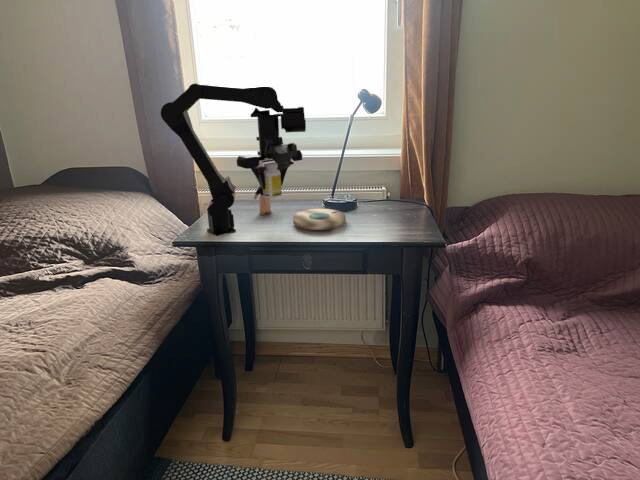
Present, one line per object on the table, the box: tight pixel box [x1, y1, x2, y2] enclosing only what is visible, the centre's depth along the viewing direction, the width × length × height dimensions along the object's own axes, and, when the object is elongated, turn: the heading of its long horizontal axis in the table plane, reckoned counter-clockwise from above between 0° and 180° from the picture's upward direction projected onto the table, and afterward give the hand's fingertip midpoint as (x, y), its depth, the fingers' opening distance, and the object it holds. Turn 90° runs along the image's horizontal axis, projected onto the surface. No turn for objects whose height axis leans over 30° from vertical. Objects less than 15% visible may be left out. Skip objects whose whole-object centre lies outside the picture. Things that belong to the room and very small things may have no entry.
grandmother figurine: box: [253, 185, 273, 216], centre depth 151 cm, size 8×4×13 cm, turn 129°
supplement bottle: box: [263, 161, 283, 199], centre depth 133 cm, size 5×5×10 cm
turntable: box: [292, 208, 347, 231], centre depth 140 cm, size 16×16×2 cm
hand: (272, 187), depth 134 cm, fingers closed on supplement bottle, 5 cm apart
